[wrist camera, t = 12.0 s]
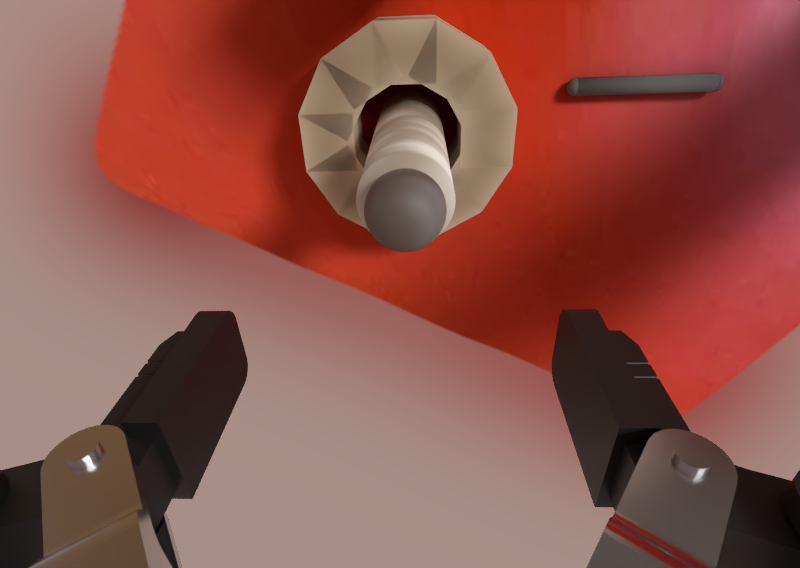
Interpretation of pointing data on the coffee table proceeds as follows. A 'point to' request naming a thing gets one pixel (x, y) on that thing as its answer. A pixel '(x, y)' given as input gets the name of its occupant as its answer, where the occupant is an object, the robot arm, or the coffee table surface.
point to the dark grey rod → (645, 84)
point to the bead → (398, 65)
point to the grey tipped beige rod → (407, 175)
